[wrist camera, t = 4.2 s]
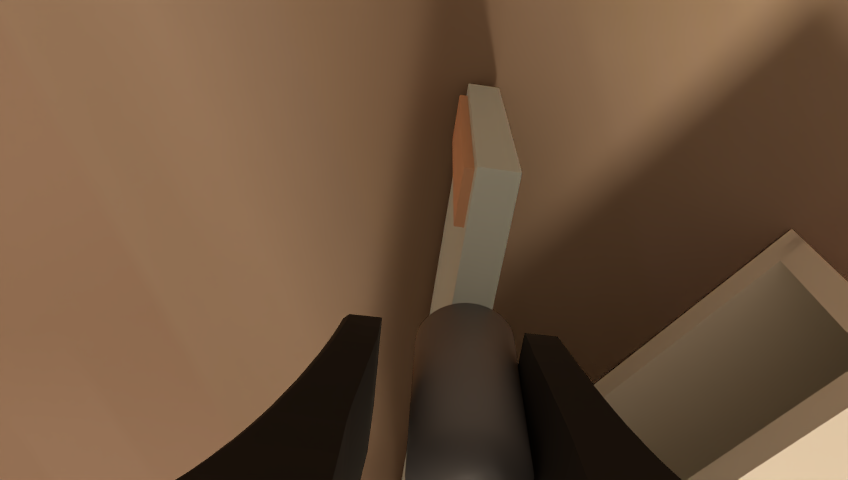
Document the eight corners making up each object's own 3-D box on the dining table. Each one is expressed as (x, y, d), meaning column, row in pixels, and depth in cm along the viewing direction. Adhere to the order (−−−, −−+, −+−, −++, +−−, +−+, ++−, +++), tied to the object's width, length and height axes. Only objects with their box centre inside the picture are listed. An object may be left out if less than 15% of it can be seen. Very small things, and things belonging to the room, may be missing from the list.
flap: (435, 514, 24) (427, 848, 16) (380, 507, 24) (342, 838, 16) (522, 91, 17) (593, 276, 9) (445, 79, 17) (441, 254, 9)
